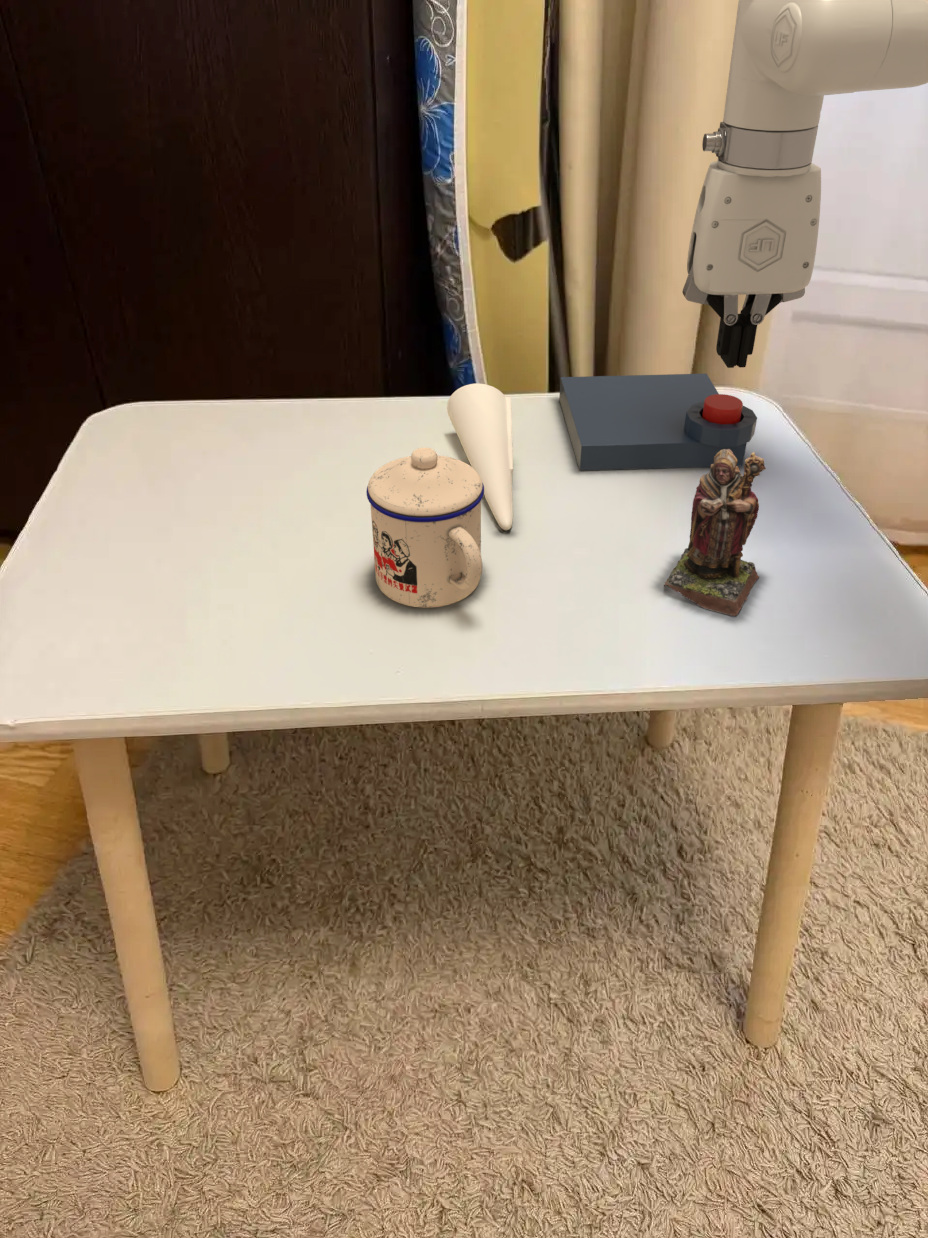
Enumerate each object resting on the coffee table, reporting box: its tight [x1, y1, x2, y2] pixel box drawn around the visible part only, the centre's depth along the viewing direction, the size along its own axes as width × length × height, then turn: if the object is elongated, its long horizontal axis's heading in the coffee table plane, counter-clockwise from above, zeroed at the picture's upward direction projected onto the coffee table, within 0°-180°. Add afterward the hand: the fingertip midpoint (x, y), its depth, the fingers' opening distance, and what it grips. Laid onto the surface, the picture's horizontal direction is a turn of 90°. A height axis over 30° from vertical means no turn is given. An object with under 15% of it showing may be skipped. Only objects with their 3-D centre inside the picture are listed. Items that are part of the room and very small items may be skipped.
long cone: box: [446, 383, 514, 531], centre depth 94 cm, size 6×6×19 cm
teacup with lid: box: [366, 447, 485, 609], centre depth 77 cm, size 12×9×12 cm
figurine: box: [663, 449, 767, 617], centre depth 77 cm, size 6×6×12 cm
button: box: [702, 393, 744, 424], centre depth 95 cm, size 4×4×2 cm
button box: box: [558, 373, 758, 472], centre depth 101 cm, size 17×17×4 cm
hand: (732, 361), depth 92 cm, fingers closed
